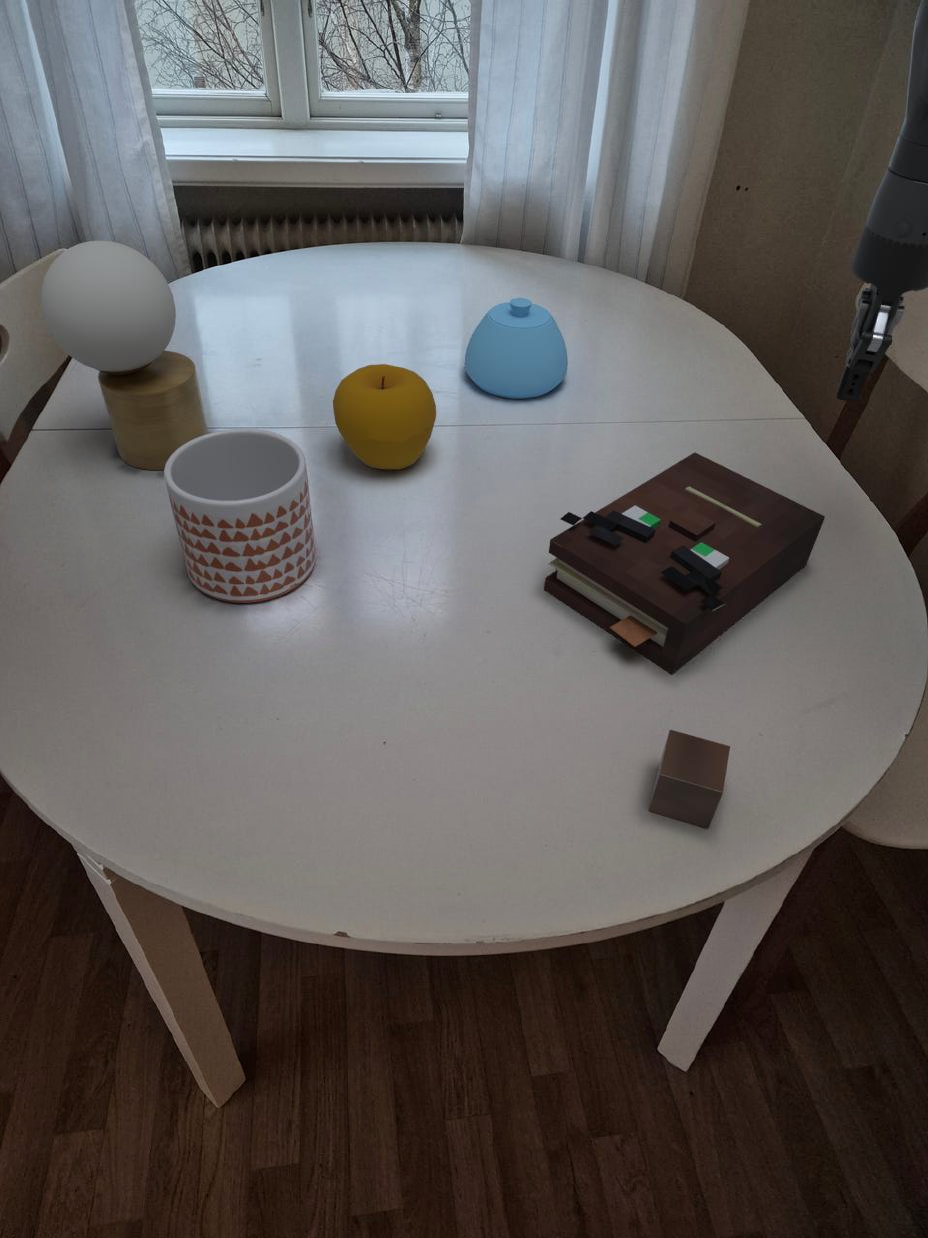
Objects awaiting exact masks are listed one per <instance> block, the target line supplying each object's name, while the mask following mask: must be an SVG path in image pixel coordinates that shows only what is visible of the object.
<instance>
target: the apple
mask: <svg viewBox="0 0 928 1238" xmlns="http://www.w3.org/2000/svg"><path fill="white" fill-rule="evenodd" d="M332 399H333V400H332V409H333V416H334V422H335V425H336V427H337V429H338V431H339V434H340V436H341V437H342V440H343V441H344V443H345V444H346V445H347V446H348V448H349V449H350V450H351V451H352V453H353V454H354V455H355V456H356V457H357V458H358V459H360V461H362V463H364V464H365V465H366V466H369V467H371V468H373V469H380V470H403V469H405V468H407V467H409V466H412V465H413V464H414V463H416V461H418V459H419V458H420V457H421V456H422V455H423V453H424V451H425V450H426V447H427V445H428V443H429V441H430V440H431V437H432V434H433V430H434V426H435V423H436V420H437V419H436V418H437V404H436V401H435V398H434V394H433V392H432V390H431V388H430V386H429V385H428V383H427V382H426V380H425V379H424V378H423V377H421V376H420V375H419V374H418V373H416V371H413V370H410V369H408V368H405V367H401V366H396V365H392V364H386V363H382V364H381V363H380V364H368V365H365V366H362V367H359V368H357V369H355V370H354V371H353V372H351V373H349V374H348V375H347V376H345V377H344V378H343V379H341V380H340V382H339V384H338V385H337V387H336V389H335V391H334V395H333V398H332Z"/></svg>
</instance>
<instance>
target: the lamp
mask: <svg viewBox="0 0 928 1238" xmlns="http://www.w3.org/2000/svg"><path fill="white" fill-rule="evenodd" d="M40 300H41V301H40V304H41V305H40V306H41V311H42V315H43V319H44V322H45V324H46V327H47V329H48V331H49V333H50V335H51V337H52V338H53V339H54V341H55V342H56V343H57V345H58V346H59V348H61V349H62V350H63V351H64V352H65V353H66V354H67V355H68V356H69V357H71V358H72V359H73V360H75V361H76V362H78V363H80V364H82V365H83V366H85V367H88V368H91V369H95V370H96V371H98V375H97V380H98V384H99V387H100V388H99V389H100V391H101V394H102V398H103V403H104V406H105V409H106V411H107V416H108V419H109V423H110V426H111V431H112V434H113V437H114V440H115V444H116V449H117V452H118V456H119V457H120V458H121V460H122V461H123V462H124V463H126V464H127V465H129V466H131V467H134V468H137V469H141V470H146V471H164V469H165V465H166V463H167V461H168V459H169V458H170V456H171V455H172V454H173V453H174V452H175V451H176V450H177V449H178V448H180V447H181V446H182V445H184V444H185V443H187V442H189V441H191V440H193V439H195V438H198V437H200V436H203V435H206V434H209V430H208V425H207V420H206V419H207V418H206V415H205V409H204V404H203V399H202V395H201V388H200V383H199V377H198V374H197V373H198V372H197V369H196V365H195V363H194V361H193V360H192V359H191V358H190V357H189V356H187V355H185V354H182V353H180V352H176V351H171V350H166V349H167V347H168V345H169V344H170V343H171V341H172V338H173V336H174V335H173V334H174V331H175V327H176V318H177V314H176V313H177V312H176V303H175V299H174V295H173V292H172V290H171V287H170V285H169V283H168V281H167V279H166V278H165V276H164V275H163V274H162V271H160V268H158V267H157V266H156V265H155V263H153V262H152V261H151V260H150V259H149V258H148V257H146V256H145V255H144V254H142V253H141V252H139V251H138V250H136V249H134V248H132V247H130V246H128V245H126V244H122V243H119V242H115V241H110V240H89V241H85V242H80V243H77V244H76V245H75V244H74V245H73V246H71V247H69V248H67V249H66V250H65V251H63V252H62V253H60V254H59V255H58V256H57V257H56V258H55V259H54V261H53V262H52V263H51V264H50V266H49V267H48V269H47V271H46V273H45V276H44V278H43V282H42V286H41V291H40Z"/></svg>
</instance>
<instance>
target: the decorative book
mask: <svg viewBox="0 0 928 1238" xmlns="http://www.w3.org/2000/svg"><path fill="white" fill-rule="evenodd" d="M825 519H826V516H825V515H824V514H821V513H819V512H817V511H815V510H813V509H811V508H809V507H807V506H805V505H803V504H801V503H798V502H797V501H795V500H793V499H791V498H789V497H786V496H785V495H782V494H780V493H778V492H776V491H774V490H773V489H771V488H769V487H766V486H764V485H762V484H760V483H758V482H756V481H754V480H752V479H750V478H748V477H746V476H744V475H742V474H741V473H738V472H736V471H734V470H732V469H730V468H728V467H726V466H724V465H722V464H719V463H718V462H715V461H714V460H711V459H709V458H708V457H705V456H704V455H702V454H699V453H698V452H695V451H694V452H692V453H691V454H689V455H688V456H686V457H684V458H683V459H681V460H679V461H678V462H676V463H674V464H673V465H671V466H670V467H668V468H666V469H665V470H663V471H661V472H660V473H658V474H656V475H654V476H653V477H651V478H649V479H647V481H645V482H643V483H641V484H639V485H637V487H635V488H633V489H632V490H630V491H627V493H624V494H623V495H622V496H620V497H619V498H617V499H615V500H613V501H612V502H610V503H608V504H607V505H605V506H604V507H601V508H600V509H598V510H597V511H595V512H594V511H592V510H590V511H589V512H588V513H587V514H585V515H584V516H583V517H580V516H578V515H576V514H574V513H573V512H570V511H568V512H567V513H565V514H564V515H563V516H561V517H560V518H559V520H561V521H563V522H564V523H567V524H569V525H571V526H570V527H569V528H567V529H565V530H563V531H562V532H560V533H558V534H557V535H555V536H554V537H552V538H551V539H550V540H549V546H548V554H549V555H552V556H553V557H554V559H553V560H551V561H550V562H548V563H547V565H549V566H550V567H552V568H554V569H555V571H553V572H552V573H550V574H549V575H547V576H545V578H544V585H543V590H544V591H545V592H547V593H548V594H550V595H551V596H553V598H556V599H557V600H558V601H560V602H561V603H563V604H565V605H566V606H568V607H569V608H570V609H572V610H574V611H575V612H577V613H578V614H580V615H581V616H583V617H584V618H586V619H587V620H588V621H591V622H592V623H593V624H595V625H596V626H598V627H599V628H601V629H602V630H603V631H605V632H607V633H608V634H610V635H611V636H613V637H614V638H616V639H618V640H619V641H620V642H622V643H623V644H624V645H626V646H627V647H630V649H632V650H634V651H635V652H637V653H638V654H640V655H641V656H642V657H644V658H646V659H647V660H649V661H651V662H652V663H654V664H655V665H656V666H658V667H660V668H661V669H662V670H664V671H665V672H667V673H668V674H670V675H671V676H673V675H674V674H675V673H676V672H678V671H679V670H680V669H682V667H684V666H685V665H686V664H688V662H690V661H691V660H692V659H694V658H695V657H696V656H698V655H699V654H700V653H701V652H702V651H704V650H705V649H706V648H707V647H708V646H709V645H711V644H712V643H713V642H714V641H716V640H717V639H718V638H719V637H720V636H722V635H723V634H724V633H725V632H727V631H728V630H729V629H730V628H732V627H733V626H734V625H735V624H736V623H738V621H740V620H742V618H744V617H745V616H746V615H747V614H748V613H750V612H752V611H753V610H754V609H755V608H757V606H758V605H760V604H761V603H762V602H763V601H765V600H766V599H767V598H768V597H770V596H771V595H772V594H773V593H774V592H775V591H777V590H778V589H780V587H782V586H783V585H784V584H785V583H786V582H788V581H789V580H790V579H792V578H793V577H794V576H795V575H796V574H798V573H800V571H801V570H802V569H804V568H805V567H806V566H807V564H808V562H809V559H810V556H811V555H812V552H813V549H814V547H815V544H816V541H817V538H818V536H819V534H820V532H821V529H822V527H823V524H824V521H825Z"/></svg>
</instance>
